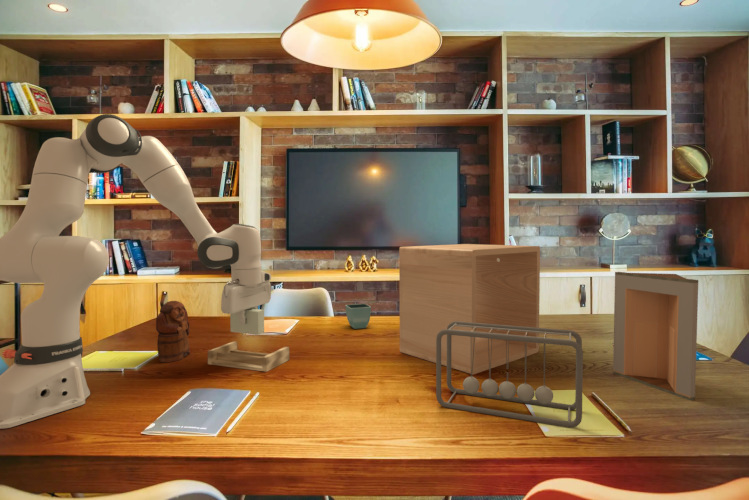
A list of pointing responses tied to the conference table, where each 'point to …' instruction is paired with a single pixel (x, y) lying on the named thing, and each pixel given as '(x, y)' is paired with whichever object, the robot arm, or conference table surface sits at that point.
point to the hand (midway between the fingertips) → (247, 322)
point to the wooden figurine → (172, 332)
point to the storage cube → (468, 301)
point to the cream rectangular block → (248, 322)
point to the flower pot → (358, 315)
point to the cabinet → (656, 331)
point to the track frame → (246, 358)
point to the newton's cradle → (507, 388)
